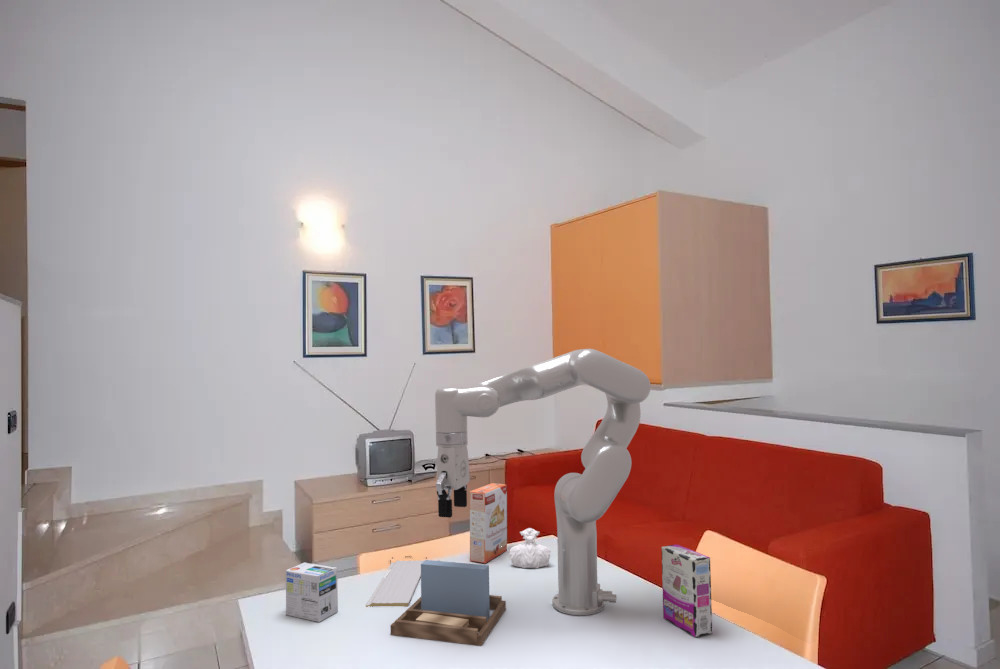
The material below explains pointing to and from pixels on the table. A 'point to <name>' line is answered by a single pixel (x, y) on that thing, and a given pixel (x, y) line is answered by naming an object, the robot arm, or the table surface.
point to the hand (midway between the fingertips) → (453, 511)
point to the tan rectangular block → (442, 620)
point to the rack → (448, 633)
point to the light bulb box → (311, 591)
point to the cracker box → (488, 522)
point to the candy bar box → (687, 590)
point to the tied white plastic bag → (529, 552)
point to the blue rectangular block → (455, 588)
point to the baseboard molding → (397, 584)
